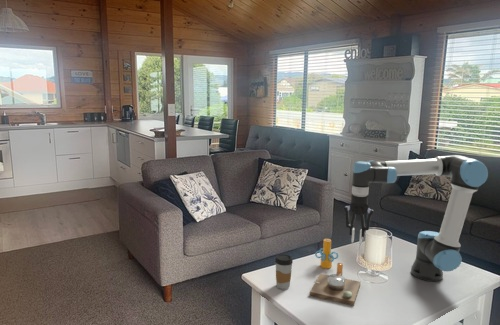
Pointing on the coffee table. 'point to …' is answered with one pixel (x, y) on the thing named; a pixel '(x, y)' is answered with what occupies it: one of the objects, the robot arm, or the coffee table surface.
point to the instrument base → (341, 296)
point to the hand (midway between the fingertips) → (356, 242)
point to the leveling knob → (337, 279)
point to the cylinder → (326, 254)
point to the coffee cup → (283, 271)
